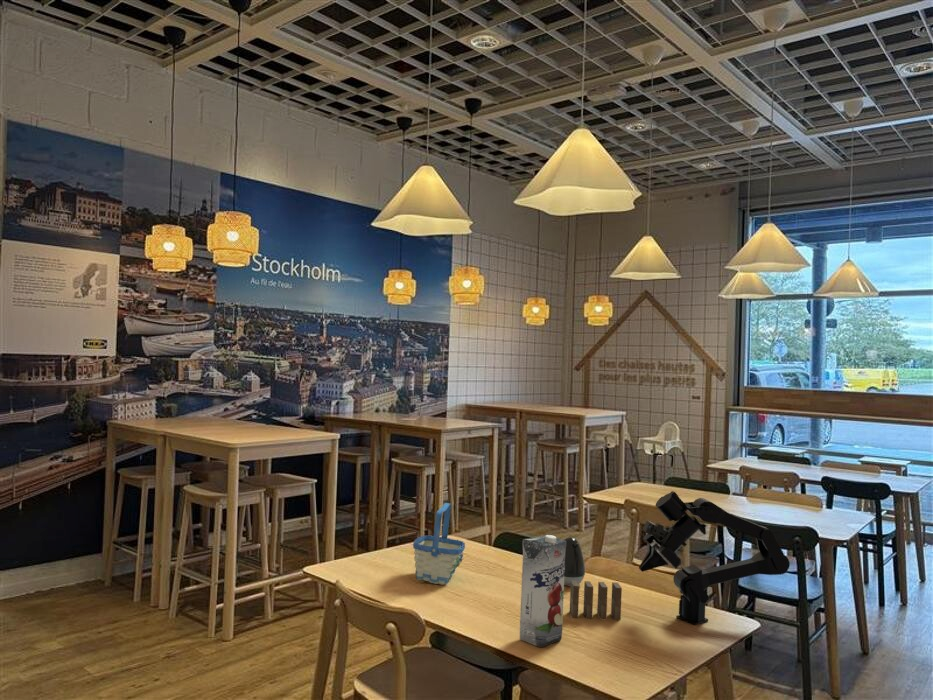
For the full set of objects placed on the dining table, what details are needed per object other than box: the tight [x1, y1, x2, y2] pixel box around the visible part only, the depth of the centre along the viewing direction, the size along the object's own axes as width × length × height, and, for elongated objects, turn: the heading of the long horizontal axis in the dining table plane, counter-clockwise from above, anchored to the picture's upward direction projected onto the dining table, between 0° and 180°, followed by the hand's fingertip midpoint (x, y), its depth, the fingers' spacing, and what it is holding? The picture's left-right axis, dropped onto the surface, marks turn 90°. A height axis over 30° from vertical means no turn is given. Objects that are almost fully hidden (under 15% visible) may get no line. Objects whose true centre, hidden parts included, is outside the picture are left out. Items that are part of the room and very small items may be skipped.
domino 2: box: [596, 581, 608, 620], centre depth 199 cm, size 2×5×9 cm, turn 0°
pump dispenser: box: [563, 536, 586, 587], centre depth 229 cm, size 10×10×15 cm
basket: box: [412, 502, 466, 586], centre depth 229 cm, size 21×16×24 cm
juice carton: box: [519, 534, 566, 648], centre depth 179 cm, size 9×10×27 cm
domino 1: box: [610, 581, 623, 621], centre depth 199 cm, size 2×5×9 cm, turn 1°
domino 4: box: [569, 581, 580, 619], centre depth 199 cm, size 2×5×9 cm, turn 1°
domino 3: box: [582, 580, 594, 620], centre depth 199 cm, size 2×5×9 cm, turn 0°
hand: (640, 569), depth 199 cm, fingers closed
